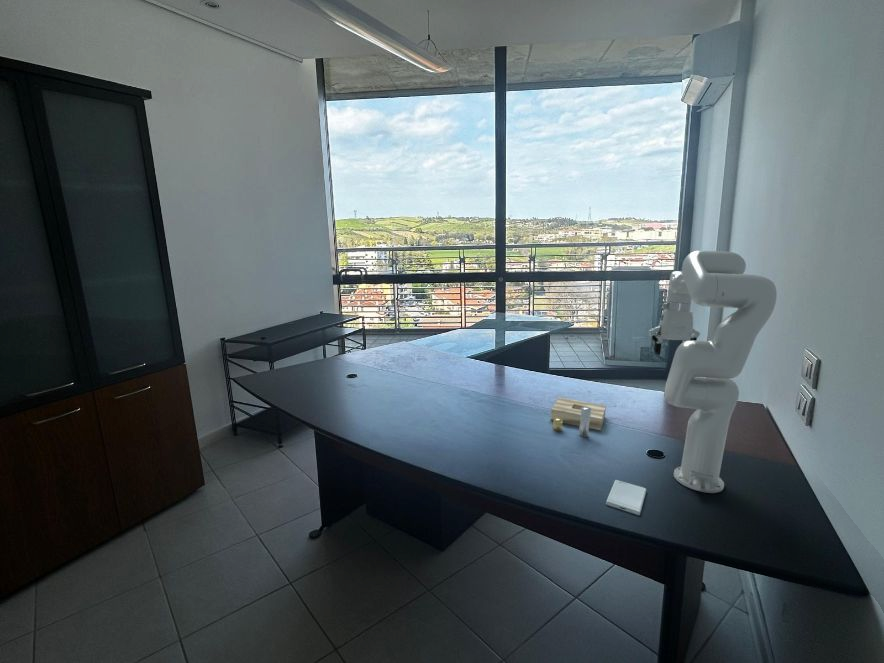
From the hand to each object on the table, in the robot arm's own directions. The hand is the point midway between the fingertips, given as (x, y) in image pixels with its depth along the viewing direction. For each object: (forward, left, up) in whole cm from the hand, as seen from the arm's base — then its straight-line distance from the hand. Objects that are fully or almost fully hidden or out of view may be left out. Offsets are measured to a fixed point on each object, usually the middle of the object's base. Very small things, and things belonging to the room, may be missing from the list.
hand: (671, 354), depth 157 cm
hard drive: (-56, +8, -29) cm, 63 cm away
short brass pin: (-22, +33, -28) cm, 48 cm away
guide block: (-8, +28, -28) cm, 40 cm away
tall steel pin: (-22, +24, -28) cm, 43 cm away
